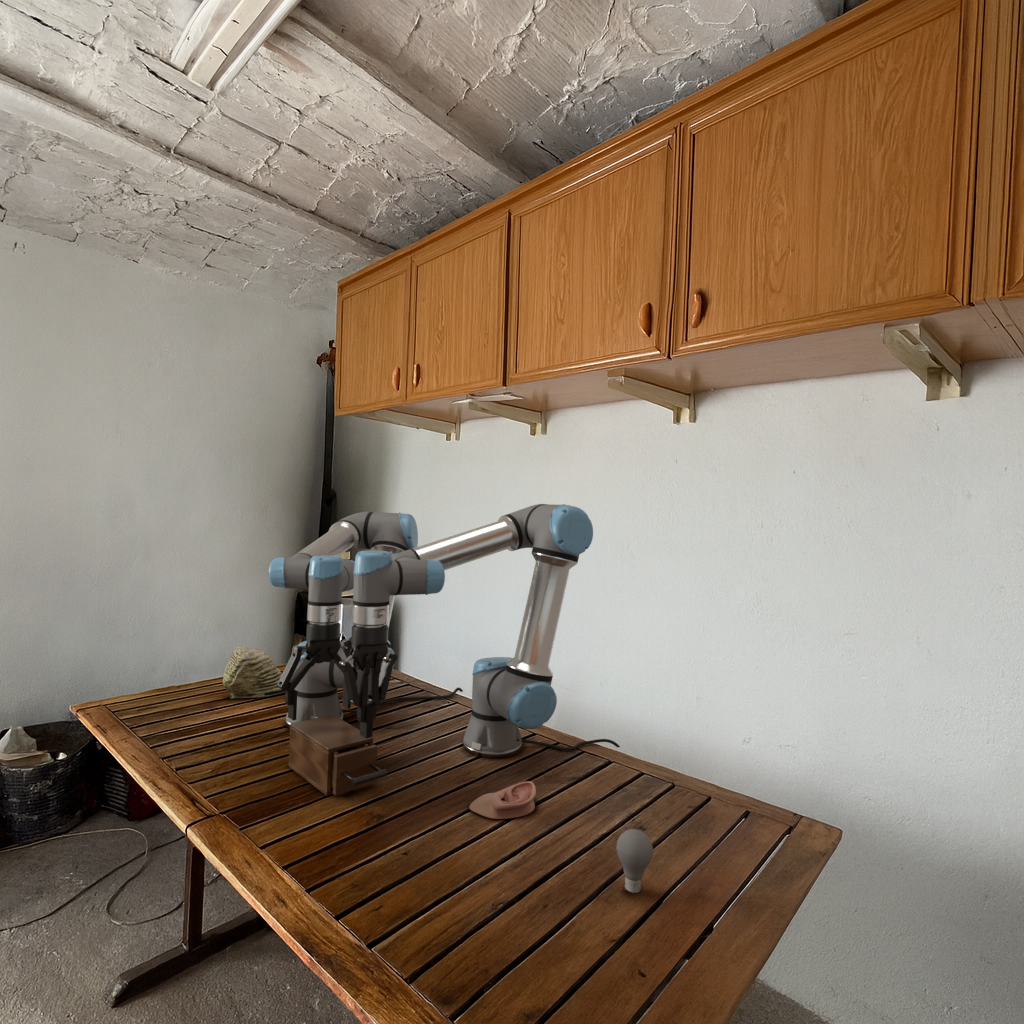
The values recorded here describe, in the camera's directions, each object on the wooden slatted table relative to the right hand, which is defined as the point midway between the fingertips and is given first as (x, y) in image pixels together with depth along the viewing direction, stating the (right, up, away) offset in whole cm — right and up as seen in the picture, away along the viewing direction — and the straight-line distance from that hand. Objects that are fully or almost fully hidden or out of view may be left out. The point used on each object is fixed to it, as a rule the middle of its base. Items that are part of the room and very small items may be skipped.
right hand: (365, 735), depth 133 cm
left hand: (-14, 0, +14) cm, 20 cm away
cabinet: (-11, -13, +11) cm, 20 cm away
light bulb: (+51, -16, -28) cm, 60 cm away
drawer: (-7, -12, +7) cm, 15 cm away
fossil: (-50, -10, +65) cm, 82 cm away
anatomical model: (+29, -15, -1) cm, 32 cm away
